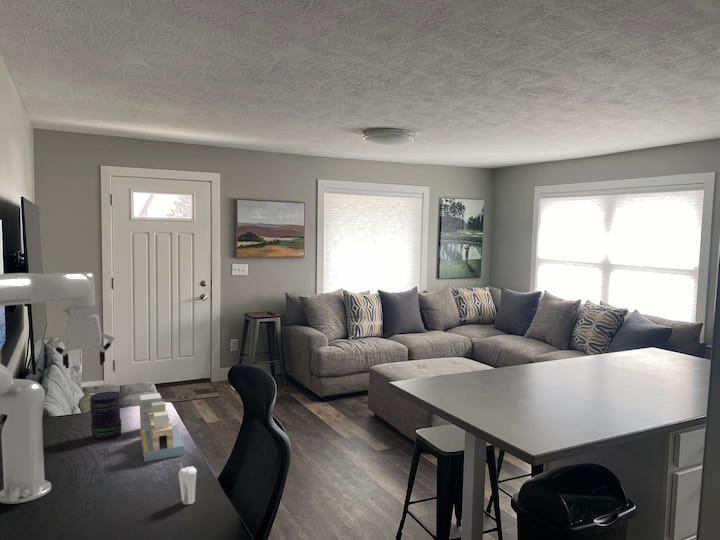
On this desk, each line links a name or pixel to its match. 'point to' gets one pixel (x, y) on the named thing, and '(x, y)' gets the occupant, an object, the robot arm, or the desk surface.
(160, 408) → the crate sage
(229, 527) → the desk surface
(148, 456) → the block
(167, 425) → the crate cream
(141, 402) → the supplement box
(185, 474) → the milkshake
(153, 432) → the pallet
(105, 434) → the storage jar
